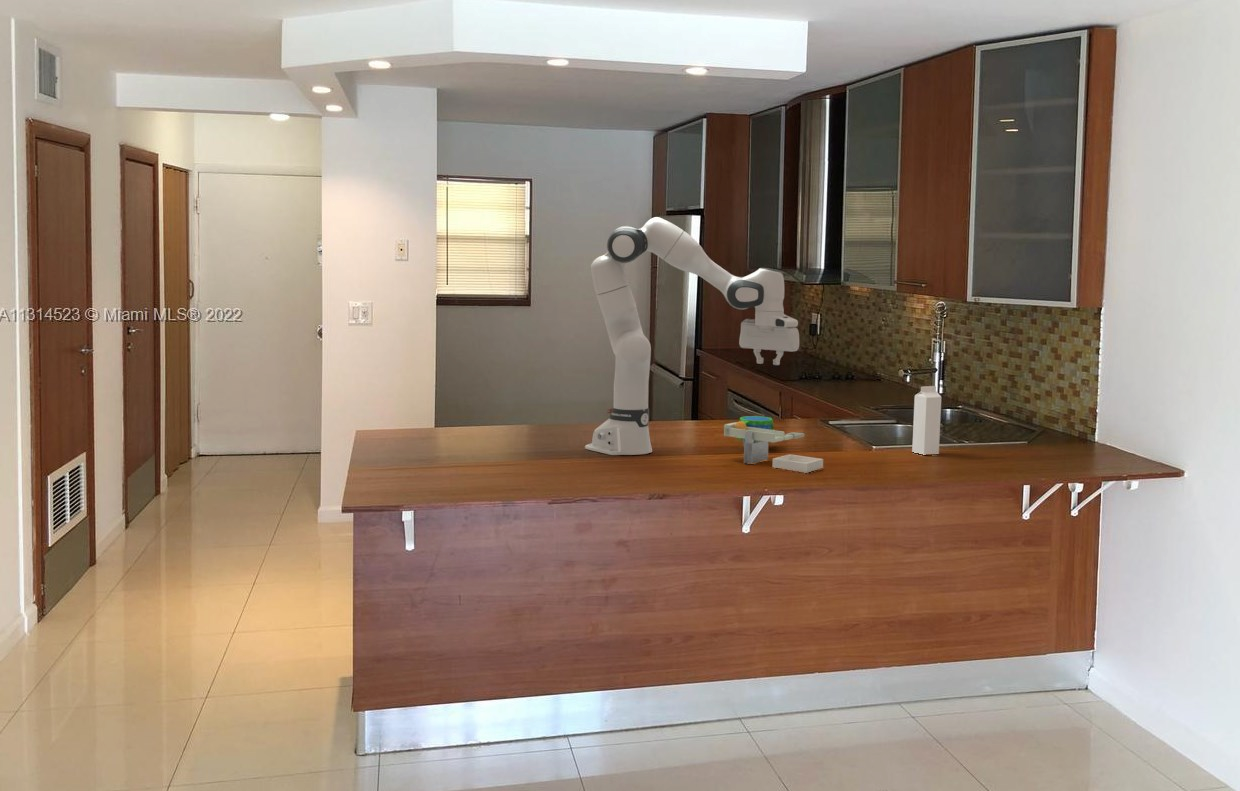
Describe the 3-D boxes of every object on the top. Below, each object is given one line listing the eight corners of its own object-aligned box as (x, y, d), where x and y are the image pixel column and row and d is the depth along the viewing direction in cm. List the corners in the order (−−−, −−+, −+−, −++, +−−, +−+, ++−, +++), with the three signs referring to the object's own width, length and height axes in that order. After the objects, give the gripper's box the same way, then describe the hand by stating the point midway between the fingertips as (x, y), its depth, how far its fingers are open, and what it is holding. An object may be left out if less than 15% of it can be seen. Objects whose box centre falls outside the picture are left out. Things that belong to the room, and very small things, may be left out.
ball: (732, 432, 340) (732, 421, 339) (738, 431, 342) (739, 420, 342) (742, 434, 337) (742, 422, 337) (748, 432, 340) (748, 421, 340)
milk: (938, 455, 352) (942, 387, 349) (923, 456, 350) (927, 387, 347) (926, 451, 358) (930, 384, 355) (911, 453, 355) (915, 385, 352)
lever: (723, 435, 340) (724, 424, 340) (751, 429, 352) (751, 418, 352) (778, 443, 328) (778, 431, 327) (804, 436, 340) (804, 425, 339)
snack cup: (762, 444, 369) (763, 414, 368) (784, 448, 361) (784, 418, 359) (726, 448, 361) (727, 417, 359) (747, 453, 352) (748, 422, 351)
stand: (743, 463, 335) (744, 432, 333) (759, 459, 342) (760, 428, 340) (752, 465, 333) (752, 433, 332) (767, 460, 340) (768, 429, 338)
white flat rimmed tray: (772, 468, 328) (772, 458, 328) (789, 463, 335) (789, 454, 335) (806, 473, 321) (806, 463, 320) (822, 468, 328) (823, 459, 328)
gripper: (735, 318, 347) (734, 362, 349) (792, 322, 334) (790, 367, 336) (746, 318, 352) (745, 361, 354) (802, 321, 339) (801, 365, 341)
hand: (768, 364), depth 345 cm, fingers open, 5 cm apart
